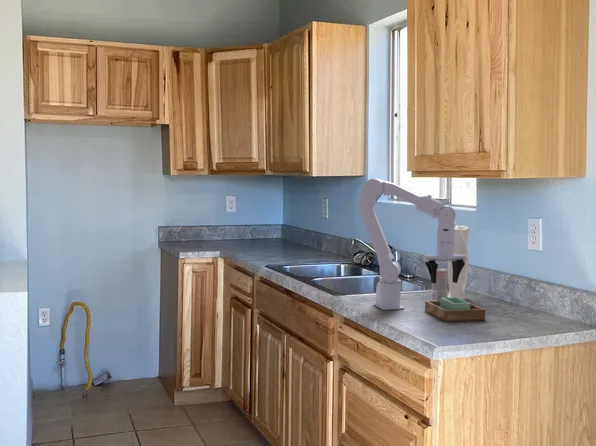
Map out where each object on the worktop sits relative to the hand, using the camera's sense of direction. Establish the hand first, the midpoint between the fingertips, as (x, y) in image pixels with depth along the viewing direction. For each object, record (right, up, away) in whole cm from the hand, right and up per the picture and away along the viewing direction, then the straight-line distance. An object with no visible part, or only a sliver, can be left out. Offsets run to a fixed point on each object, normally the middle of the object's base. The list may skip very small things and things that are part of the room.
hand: (444, 282), depth 228 cm
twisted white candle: (+9, -8, +22) cm, 25 cm away
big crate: (+2, -10, -7) cm, 12 cm away
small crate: (+2, -10, -7) cm, 12 cm away
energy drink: (+1, -9, +13) cm, 16 cm away
